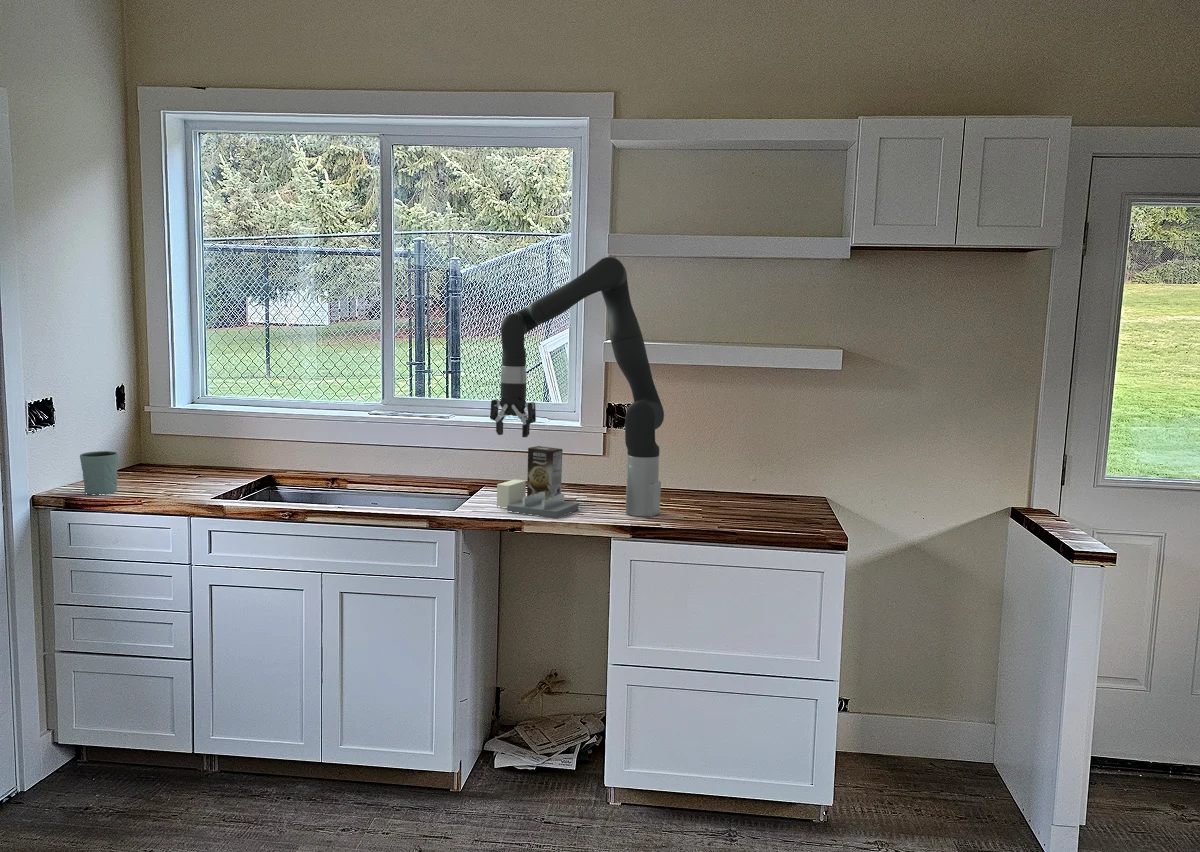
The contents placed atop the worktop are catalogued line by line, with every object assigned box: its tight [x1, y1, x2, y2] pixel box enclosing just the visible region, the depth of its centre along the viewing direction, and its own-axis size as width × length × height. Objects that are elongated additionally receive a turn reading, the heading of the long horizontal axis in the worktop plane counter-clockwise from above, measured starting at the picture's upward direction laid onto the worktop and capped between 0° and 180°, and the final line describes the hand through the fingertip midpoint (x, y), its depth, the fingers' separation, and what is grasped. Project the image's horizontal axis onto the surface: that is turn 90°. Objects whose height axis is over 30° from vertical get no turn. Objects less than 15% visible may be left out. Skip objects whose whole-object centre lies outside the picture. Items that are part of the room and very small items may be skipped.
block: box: [496, 479, 527, 507], centre depth 287 cm, size 4×10×7 cm, turn 155°
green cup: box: [79, 450, 119, 496], centre depth 289 cm, size 10×10×12 cm
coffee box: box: [526, 445, 563, 499], centre depth 296 cm, size 9×6×16 cm
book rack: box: [506, 491, 580, 519], centre depth 280 cm, size 16×14×4 cm
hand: (512, 435), depth 285 cm, fingers open, 8 cm apart
